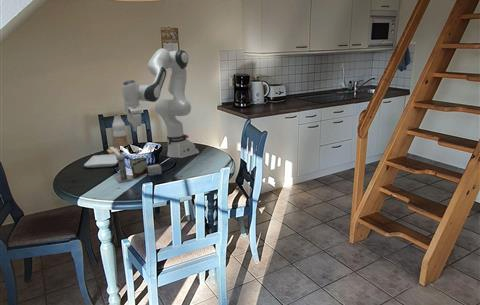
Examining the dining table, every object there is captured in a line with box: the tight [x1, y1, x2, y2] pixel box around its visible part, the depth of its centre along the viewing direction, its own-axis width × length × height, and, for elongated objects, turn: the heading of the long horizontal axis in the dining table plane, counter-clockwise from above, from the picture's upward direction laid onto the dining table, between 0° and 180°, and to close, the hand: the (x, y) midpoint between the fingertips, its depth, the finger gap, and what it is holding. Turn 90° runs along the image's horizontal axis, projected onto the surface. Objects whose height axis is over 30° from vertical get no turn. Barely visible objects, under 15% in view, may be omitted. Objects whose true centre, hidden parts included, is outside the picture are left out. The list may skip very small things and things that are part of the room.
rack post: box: [115, 159, 133, 184], centre depth 217 cm, size 8×8×13 cm
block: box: [146, 163, 163, 177], centre depth 226 cm, size 8×5×5 cm, turn 117°
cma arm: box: [106, 146, 126, 160], centre depth 223 cm, size 24×6×2 cm, turn 32°
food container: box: [129, 157, 148, 179], centre depth 224 cm, size 12×6×10 cm, turn 149°
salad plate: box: [83, 153, 118, 169], centre depth 250 cm, size 21×21×3 cm
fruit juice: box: [111, 112, 129, 150], centre depth 272 cm, size 9×9×28 cm
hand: (135, 130), depth 226 cm, fingers closed
